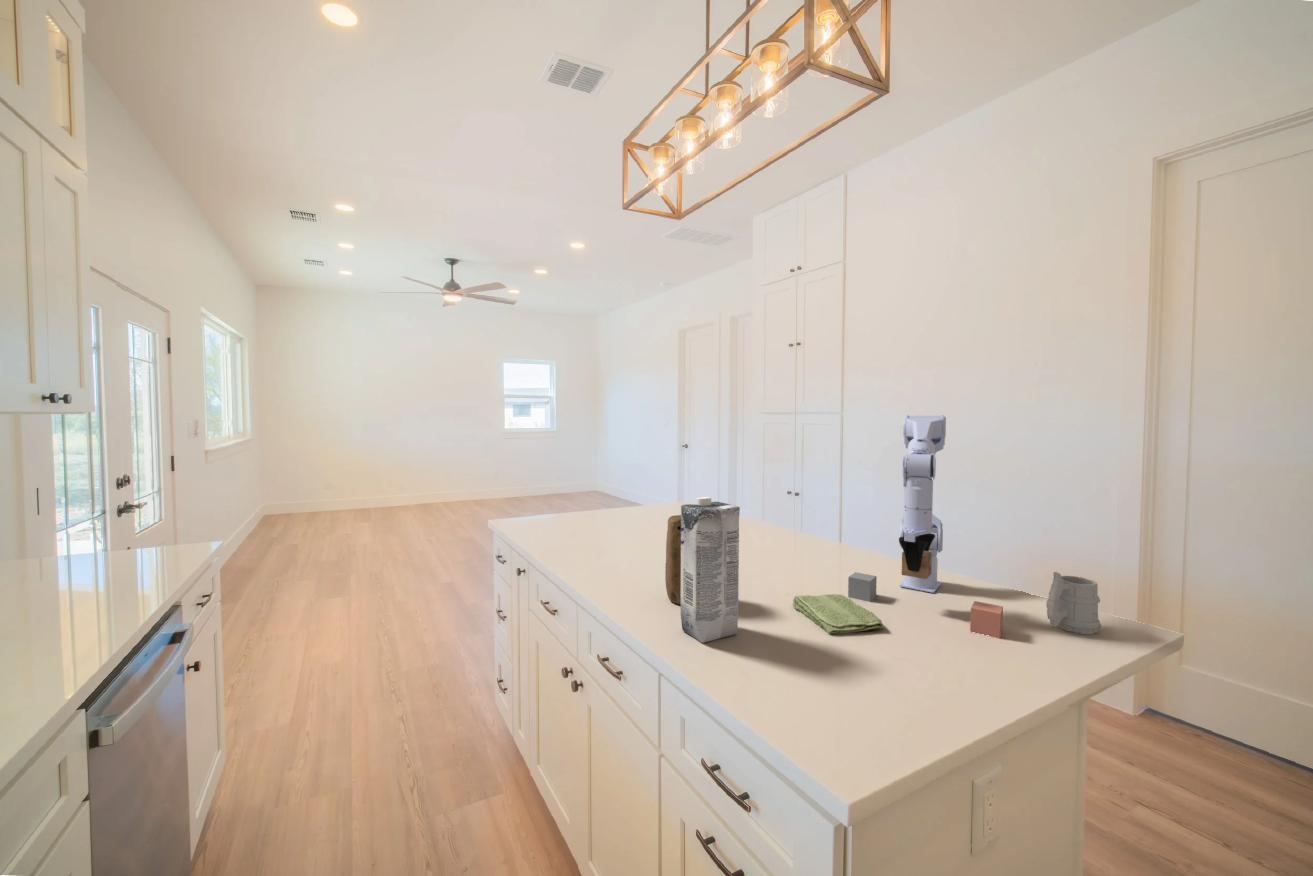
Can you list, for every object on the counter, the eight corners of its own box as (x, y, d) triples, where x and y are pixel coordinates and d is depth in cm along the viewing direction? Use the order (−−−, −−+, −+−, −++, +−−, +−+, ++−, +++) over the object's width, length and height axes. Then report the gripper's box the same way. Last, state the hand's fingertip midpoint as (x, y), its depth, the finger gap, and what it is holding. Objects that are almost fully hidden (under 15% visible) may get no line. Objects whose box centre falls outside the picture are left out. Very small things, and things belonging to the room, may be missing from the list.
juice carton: (744, 635, 104) (745, 499, 103) (701, 647, 98) (701, 504, 97) (716, 620, 112) (717, 493, 110) (675, 630, 106) (675, 497, 105)
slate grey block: (855, 592, 130) (855, 572, 130) (876, 596, 127) (876, 576, 127) (848, 597, 126) (848, 577, 126) (869, 602, 123) (870, 581, 123)
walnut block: (907, 569, 121) (907, 548, 121) (931, 573, 118) (931, 551, 118) (901, 574, 117) (902, 552, 117) (926, 579, 114) (926, 556, 114)
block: (669, 606, 119) (669, 519, 118) (663, 595, 127) (664, 513, 126) (715, 604, 121) (716, 518, 120) (707, 593, 128) (708, 512, 128)
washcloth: (829, 639, 103) (829, 623, 103) (788, 607, 121) (788, 593, 120) (888, 633, 106) (888, 617, 106) (840, 603, 123) (840, 589, 123)
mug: (1109, 632, 106) (1111, 573, 105) (1068, 640, 102) (1070, 579, 102) (1069, 618, 113) (1071, 563, 112) (1029, 625, 109) (1031, 568, 109)
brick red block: (973, 624, 110) (974, 601, 110) (1002, 630, 107) (1003, 606, 106) (970, 632, 106) (970, 607, 106) (999, 639, 103) (1000, 613, 103)
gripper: (930, 514, 109) (929, 579, 110) (944, 505, 120) (943, 564, 121) (894, 510, 113) (893, 572, 114) (911, 502, 125) (909, 558, 125)
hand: (916, 567), depth 118 cm, fingers closed on walnut block, 5 cm apart
